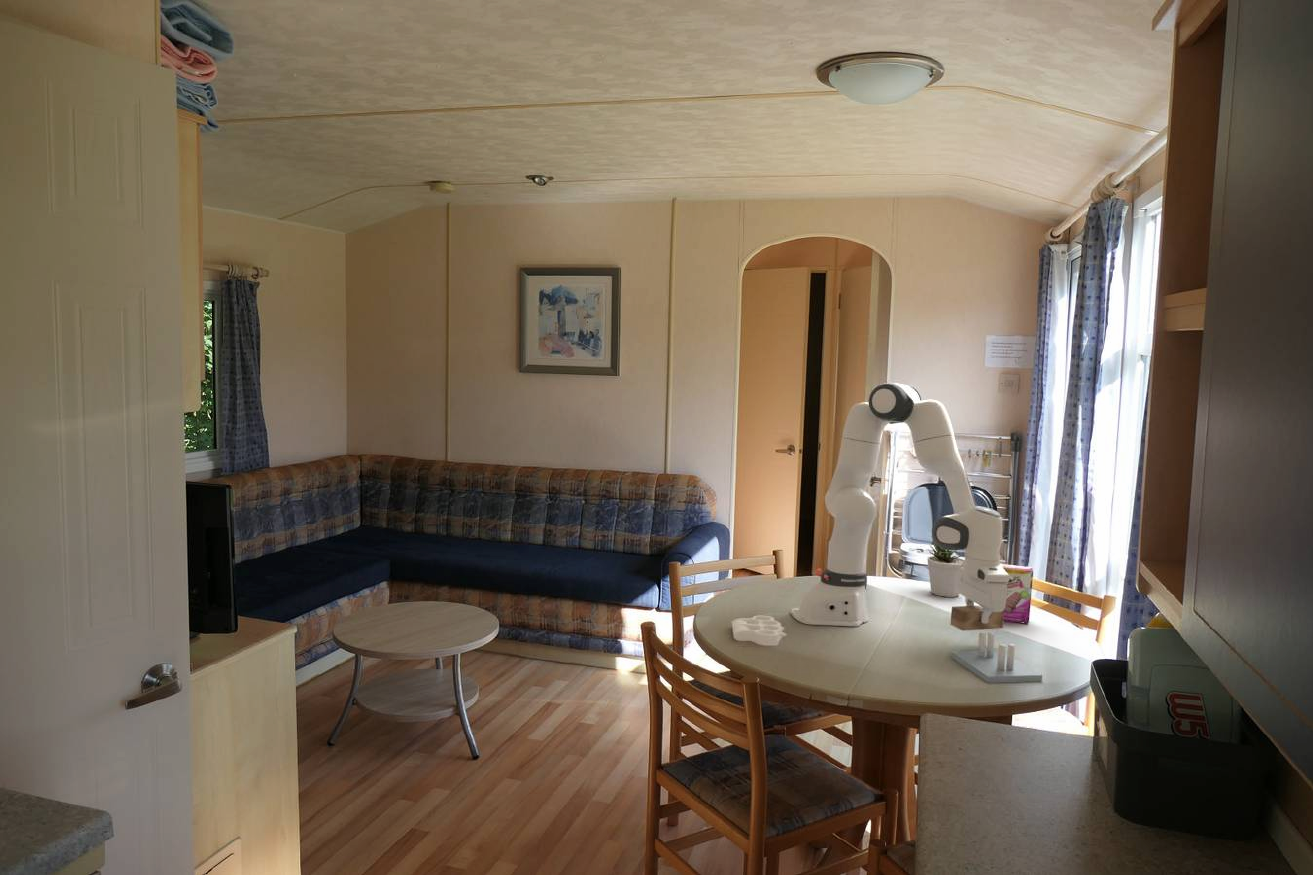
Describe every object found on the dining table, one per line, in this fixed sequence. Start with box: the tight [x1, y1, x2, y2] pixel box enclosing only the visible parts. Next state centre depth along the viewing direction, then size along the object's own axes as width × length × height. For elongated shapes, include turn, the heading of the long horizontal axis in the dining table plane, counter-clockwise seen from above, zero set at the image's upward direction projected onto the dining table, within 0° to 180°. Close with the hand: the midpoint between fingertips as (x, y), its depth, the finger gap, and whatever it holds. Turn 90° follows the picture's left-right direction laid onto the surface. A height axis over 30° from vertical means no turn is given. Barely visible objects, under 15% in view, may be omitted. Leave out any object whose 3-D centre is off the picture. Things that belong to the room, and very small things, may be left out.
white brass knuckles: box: [731, 614, 788, 647], centre depth 238 cm, size 3×18×15 cm
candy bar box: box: [1000, 563, 1034, 624], centre depth 260 cm, size 11×5×16 cm, turn 71°
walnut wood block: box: [949, 604, 1005, 631], centre depth 233 cm, size 13×5×5 cm, turn 109°
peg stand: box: [950, 632, 1043, 684], centre depth 216 cm, size 14×18×8 cm
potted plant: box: [927, 536, 965, 598], centre depth 288 cm, size 13×14×20 cm
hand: (977, 618), depth 233 cm, fingers closed on walnut wood block, 5 cm apart
